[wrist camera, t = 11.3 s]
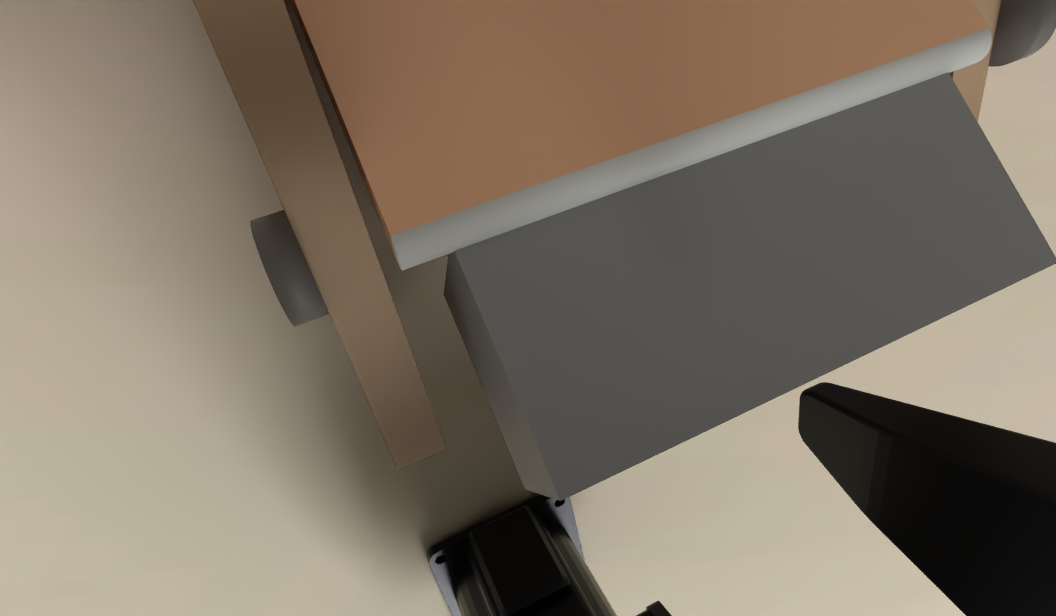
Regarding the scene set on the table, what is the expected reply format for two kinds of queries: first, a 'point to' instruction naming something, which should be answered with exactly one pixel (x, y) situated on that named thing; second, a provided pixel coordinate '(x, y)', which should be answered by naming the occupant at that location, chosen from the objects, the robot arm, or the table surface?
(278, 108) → the trapdoor frame
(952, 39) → the trapdoor
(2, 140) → the table surface
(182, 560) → the table surface
